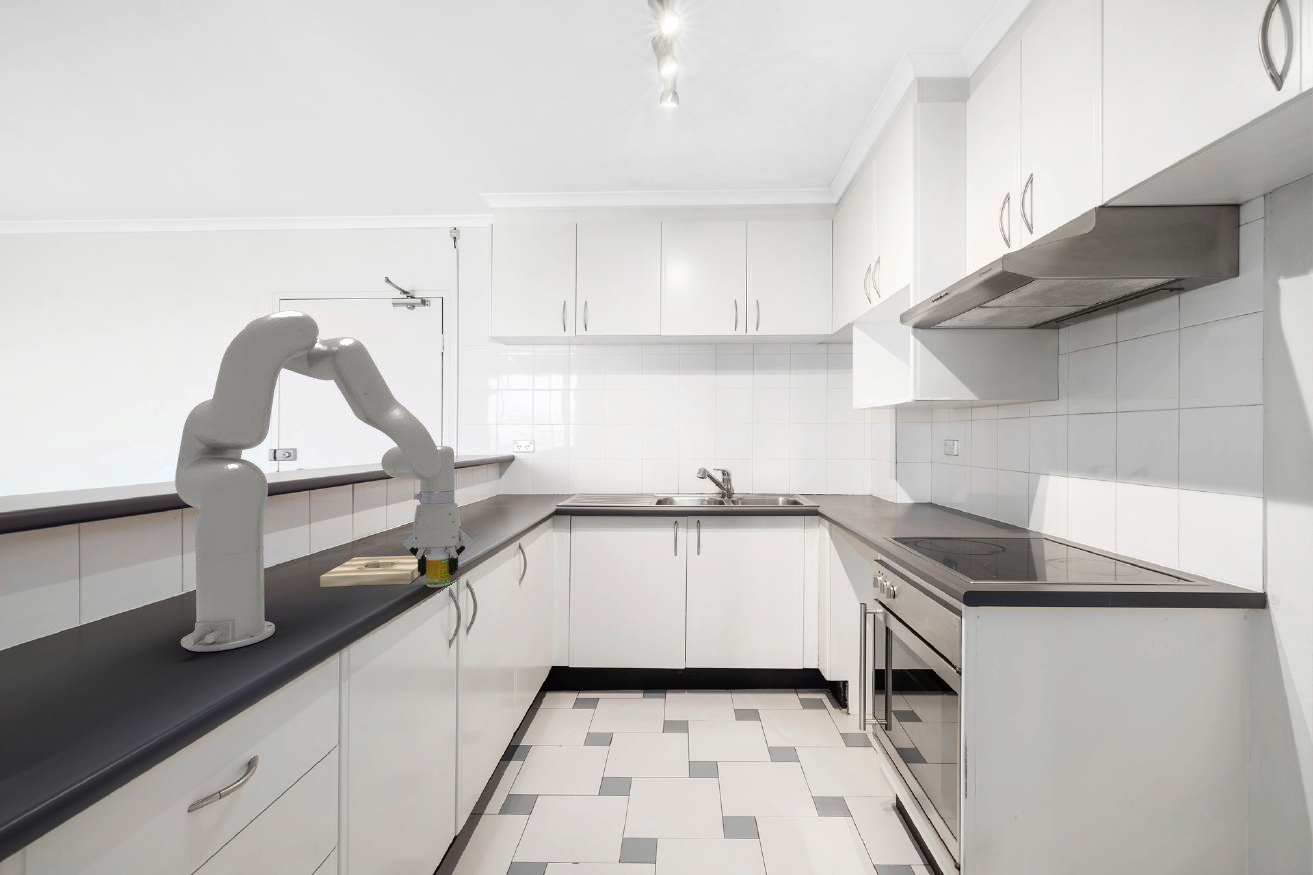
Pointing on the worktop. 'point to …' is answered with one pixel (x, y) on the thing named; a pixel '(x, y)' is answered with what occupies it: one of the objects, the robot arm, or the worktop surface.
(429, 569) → the supplement bottle
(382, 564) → the plate
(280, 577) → the worktop surface
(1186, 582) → the worktop surface
